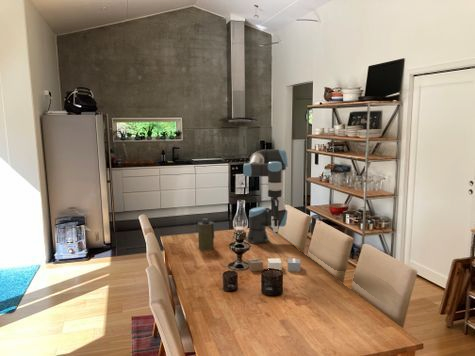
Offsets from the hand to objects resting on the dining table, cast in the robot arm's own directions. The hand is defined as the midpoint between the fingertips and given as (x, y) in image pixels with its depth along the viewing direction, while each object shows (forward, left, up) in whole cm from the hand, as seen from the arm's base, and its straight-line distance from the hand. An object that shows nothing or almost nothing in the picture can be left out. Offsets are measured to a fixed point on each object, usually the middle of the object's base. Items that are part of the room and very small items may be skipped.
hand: (274, 229), depth 215 cm
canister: (-39, -41, -23) cm, 61 cm away
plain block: (0, 0, -23) cm, 23 cm away
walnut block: (-1, -11, -23) cm, 26 cm away
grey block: (+1, +11, -23) cm, 26 cm away
